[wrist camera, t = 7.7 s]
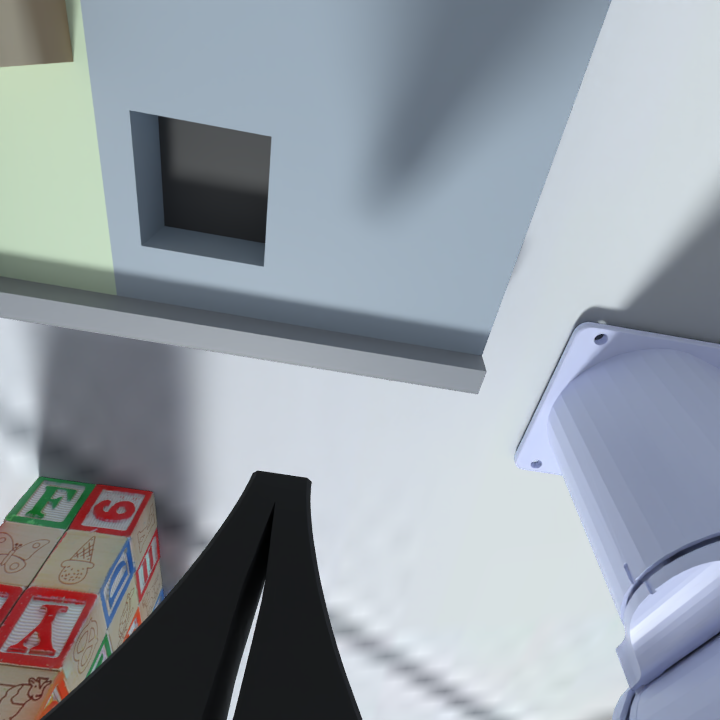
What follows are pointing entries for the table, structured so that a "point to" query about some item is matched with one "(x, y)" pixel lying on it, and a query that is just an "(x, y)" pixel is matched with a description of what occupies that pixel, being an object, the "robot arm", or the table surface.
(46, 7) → the maple block
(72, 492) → the stack of blocks
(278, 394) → the table surface
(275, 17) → the box
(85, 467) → the table surface
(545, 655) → the table surface
